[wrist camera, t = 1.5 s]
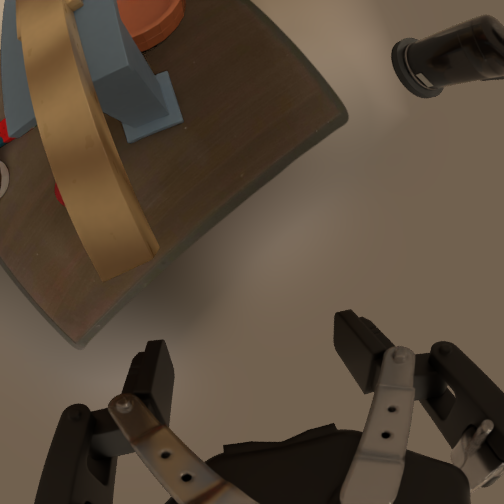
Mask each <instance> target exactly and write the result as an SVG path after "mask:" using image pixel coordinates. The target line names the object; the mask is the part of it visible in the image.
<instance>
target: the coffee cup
mask: <svg viewBox="0 0 504 504" xmlns="http://www.w3.org/2000/svg"><path fill="white" fill-rule="evenodd" d="M8 184H9V172H8V169H7V167H6V165H5V164H4V163H3V162H1V161H0V198H1V197H2V196H3V195H4V193H5V192H6V190H7V188H8Z"/></svg>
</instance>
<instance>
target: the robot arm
mask: <svg viewBox="0 0 504 504" xmlns="http://www.w3.org/2000/svg"><path fill="white" fill-rule="evenodd" d="M403 61H404V65H405V67H406V70H407V72H408V73H409V75H410V76H411V78H412V79H413V80H414V81H415V82H416V83H417V84H418V85H419V86H420V87H422V88H424V89H426V90H435V89H438V88H441V87H446V86H451V85H456V84H461V83H466V82H471V81H476V80H482V81H486V80H496V79H497V80H499V79H504V26H503V25H502V24H501V23H500V22H499V21H498V20H497V19H496V18H494V17H492V16H490V15H481V16H478V17H475V18H472V19H470V20H467V21H464V22H462V23H459V24H457V25H454V26H452V27H449V28H446V29H444V30H442V31H439V32H437V33H435V34H432V35H430V36H428V37H425V38H423V39H421V40H419V41H416V42H414V43H411V44H409V45H407V46H406V47H405V49H404V51H403ZM334 346H335V349H336V351H337V353H338V355H339V356H340V357H341V359H342V361H343V362H344V364H345V365H346V367H347V368H348V370H349V371H350V373H351V374H352V376H353V377H354V379H355V380H356V382H357V383H358V385H359V386H360V388H361V389H362V391H363V393H364V394H368V393H371V392H374V397H373V401H372V404H371V408H370V411H369V414H368V418H367V421H366V424H365V427H364V431H363V432H360V431H355V430H337V428H336V426H335V424H334V423H332V424H329V425H325V426H322V427H318V428H314V429H310V430H307V431H305V432H303V433H301V434H299V435H296V436H295V437H292V438H290V439H287V440H285V441H282V442H253V441H251V442H244V443H237V444H229V445H223V448H224V453H221V454H218V455H216V456H214V457H212V458H210V459H208V460H207V461H205V462H203V461H202V460H201V459H200V458H199V457H198V456H197V455H196V454H195V453H194V452H192V451H191V450H190V449H189V448H188V447H187V446H186V445H185V444H184V443H183V442H182V441H181V440H180V439H179V438H178V437H177V436H176V435H175V434H174V433H173V432H172V431H171V429H170V428H169V421H170V412H171V402H172V393H173V385H174V368H173V364H172V361H171V359H170V355H169V352H168V349H167V346H166V343H165V341H164V340H154V341H148V342H147V345H146V349H145V352H139V353H138V354H137V355H136V356H135V357H134V358H133V360H132V363H131V366H130V369H129V372H128V375H127V378H126V381H125V384H124V387H123V390H122V393H121V394H120V395H117V396H116V397H114V398H113V399H112V400H111V401H110V403H109V404H108V408H105V409H101V410H97V411H92V412H91V411H90V410H89V408H88V407H87V406H86V405H84V404H74V405H71V406H69V407H67V408H66V409H65V410H64V411H63V413H62V415H61V418H60V420H59V423H58V426H57V428H56V431H55V434H54V437H53V440H52V443H51V446H50V449H49V452H48V455H47V458H46V461H45V465H44V469H43V472H42V475H41V479H40V482H39V486H38V490H37V494H36V499H35V503H34V504H113V492H114V483H115V474H116V466H117V457H118V456H120V455H125V454H129V453H133V452H136V453H137V455H138V456H139V457H140V459H141V460H142V461H143V463H144V464H145V465H146V467H147V468H148V469H149V470H150V472H151V473H152V474H153V475H154V477H155V478H156V479H157V480H158V482H159V483H160V484H161V485H162V486H163V487H164V489H165V490H166V491H167V492H168V493H169V494H170V495H171V498H170V499H169V500H168V501H167V502H166V503H165V504H471V502H470V494H471V493H472V492H474V491H475V490H477V489H478V488H479V487H488V486H490V485H492V484H493V483H494V482H495V481H496V480H497V479H498V478H499V477H500V476H501V475H502V474H503V473H504V393H503V392H502V391H501V390H500V389H499V388H498V387H497V386H496V384H494V383H493V381H492V380H491V379H490V378H489V377H488V376H487V375H486V374H484V372H483V371H482V370H481V369H480V368H478V367H477V365H476V364H474V363H473V362H472V361H471V360H470V359H469V358H468V357H467V356H466V355H465V354H464V353H463V352H462V351H461V350H460V349H459V348H458V347H457V346H456V345H454V344H453V343H450V342H446V341H441V342H437V343H435V344H433V345H432V347H431V351H430V353H424V354H416V355H415V354H414V353H413V351H412V350H410V349H408V348H406V347H401V346H397V347H396V346H395V345H394V344H393V343H391V341H390V340H389V339H388V338H387V337H386V336H385V335H384V334H383V333H382V332H381V331H380V330H379V329H378V328H376V326H375V325H374V324H373V323H372V322H371V321H370V320H368V319H366V318H364V317H358V316H357V315H356V314H355V313H354V312H353V311H352V310H351V309H350V310H345V311H341V312H337V313H335V316H334ZM447 385H449V386H450V387H451V388H452V390H453V391H454V393H455V396H456V398H455V397H454V395H453V394H452V393H451V392H450V391H449V389H448V388H447ZM415 400H419V401H420V403H421V404H422V406H423V407H424V408H425V410H426V411H427V413H428V414H429V416H430V417H431V418H432V420H433V421H434V423H435V424H436V425H437V427H438V429H439V430H440V431H441V433H442V434H443V436H444V437H445V439H446V440H447V442H448V443H449V445H450V446H451V448H452V449H453V450H452V453H451V460H452V463H453V464H450V463H447V462H443V461H440V460H437V459H433V458H430V457H427V456H424V455H421V454H418V453H415V452H413V451H410V450H407V449H406V448H407V443H408V438H409V432H410V426H411V420H412V413H413V405H414V401H415Z"/></svg>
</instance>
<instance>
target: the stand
mask: <svg viewBox="0 0 504 504" xmlns="http://www.w3.org/2000/svg"><path fill="white" fill-rule="evenodd" d="M83 4H84V5H83V6H82V7H80V8H79V9H77V10H75V11H74V16H75V20H76V25H77V29H78V33H79V37H80V40H81V44H82V48H83V51H84V55H85V59H86V62H87V65H88V69H89V72H90V75H91V79H92V82H93V85H94V88H95V91H96V94H97V97H98V100H99V103H100V106H101V109H102V112H104V113H106V114H108V115H110V116H112V117H114V118H116V119H118V120H119V121H121V122H122V125H123V128H124V132H125V135H126V138H127V142H128V143H133V142H135V141H138V140H140V139H142V138H145V137H147V136H150V135H152V134H154V133H157V132H159V131H162V130H165V129H167V128H170V127H172V126H175V125H178V124H180V123H183V122H184V120H183V117H182V114H181V111H180V108H179V105H178V102H177V99H176V96H175V93H174V90H173V86H172V83H171V80H170V77H169V74H168V72H167V71H165V72H162V73H159V74H157V75H154V74H153V72H152V70H151V69H150V67H149V65H148V64H147V62H146V60H145V59H144V57H143V55H142V54H141V52H140V50H139V49H138V47H137V45H136V44H135V42H134V40H133V39H132V37H131V35H130V34H129V32H128V30H127V29H126V27H125V25H124V24H123V22H122V20H121V18H120V14H119V9H118V5H117V0H83ZM1 76H2V91H3V102H4V111H5V118H6V125H7V131H8V137H12V138H20V137H21V136H22V135H24V134H25V133H26V132H28V131H29V130H30V129H32V128H33V127H35V126H36V125H37V121H36V117H35V113H34V109H33V105H32V101H31V96H30V91H29V87H28V81H27V76H26V70H25V64H24V57H23V49H22V42H21V41H20V40H18V39H17V27H16V0H5V3H4V11H3V21H2V36H1Z"/></svg>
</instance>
